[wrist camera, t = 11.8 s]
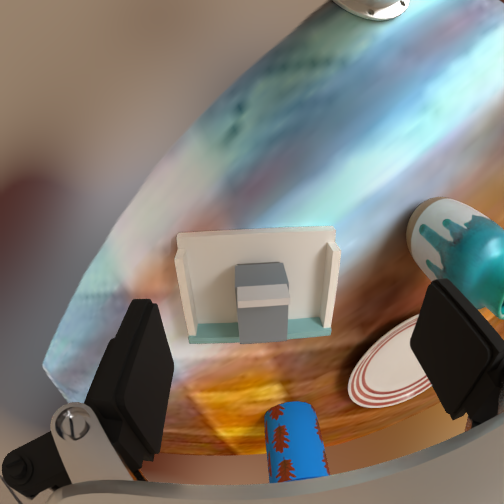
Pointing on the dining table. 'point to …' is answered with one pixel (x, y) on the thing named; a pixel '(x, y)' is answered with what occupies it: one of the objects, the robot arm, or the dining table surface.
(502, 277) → the vase
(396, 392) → the dinner plate
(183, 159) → the dining table surface
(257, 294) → the lidded gray box
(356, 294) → the dining table surface
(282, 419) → the thermos
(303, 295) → the loading dock
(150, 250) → the dining table surface
